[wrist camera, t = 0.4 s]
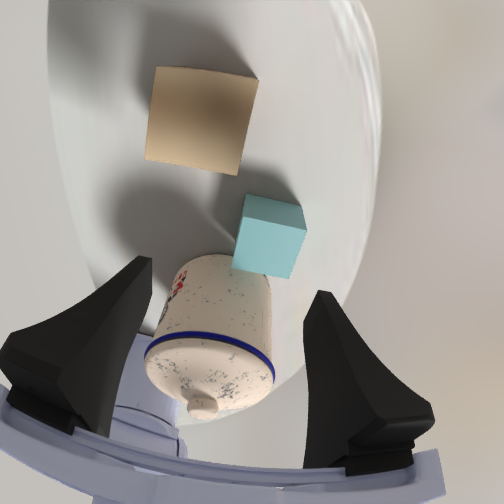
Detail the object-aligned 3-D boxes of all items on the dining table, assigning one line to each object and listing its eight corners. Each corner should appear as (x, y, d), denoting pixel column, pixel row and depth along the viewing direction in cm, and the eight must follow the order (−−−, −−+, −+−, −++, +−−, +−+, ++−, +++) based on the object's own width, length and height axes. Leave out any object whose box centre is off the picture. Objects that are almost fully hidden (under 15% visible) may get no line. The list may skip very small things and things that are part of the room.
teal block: (286, 250, 23) (288, 279, 20) (235, 239, 23) (231, 267, 20) (301, 205, 21) (306, 230, 18) (246, 192, 21) (243, 216, 18)
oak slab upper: (240, 161, 17) (236, 176, 15) (159, 147, 17) (144, 159, 14) (259, 79, 14) (258, 81, 12) (171, 66, 14) (156, 66, 12)
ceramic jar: (167, 243, 23) (115, 365, 14) (281, 255, 24) (288, 389, 14) (177, 338, 30) (153, 438, 21) (263, 347, 30) (260, 452, 21)
